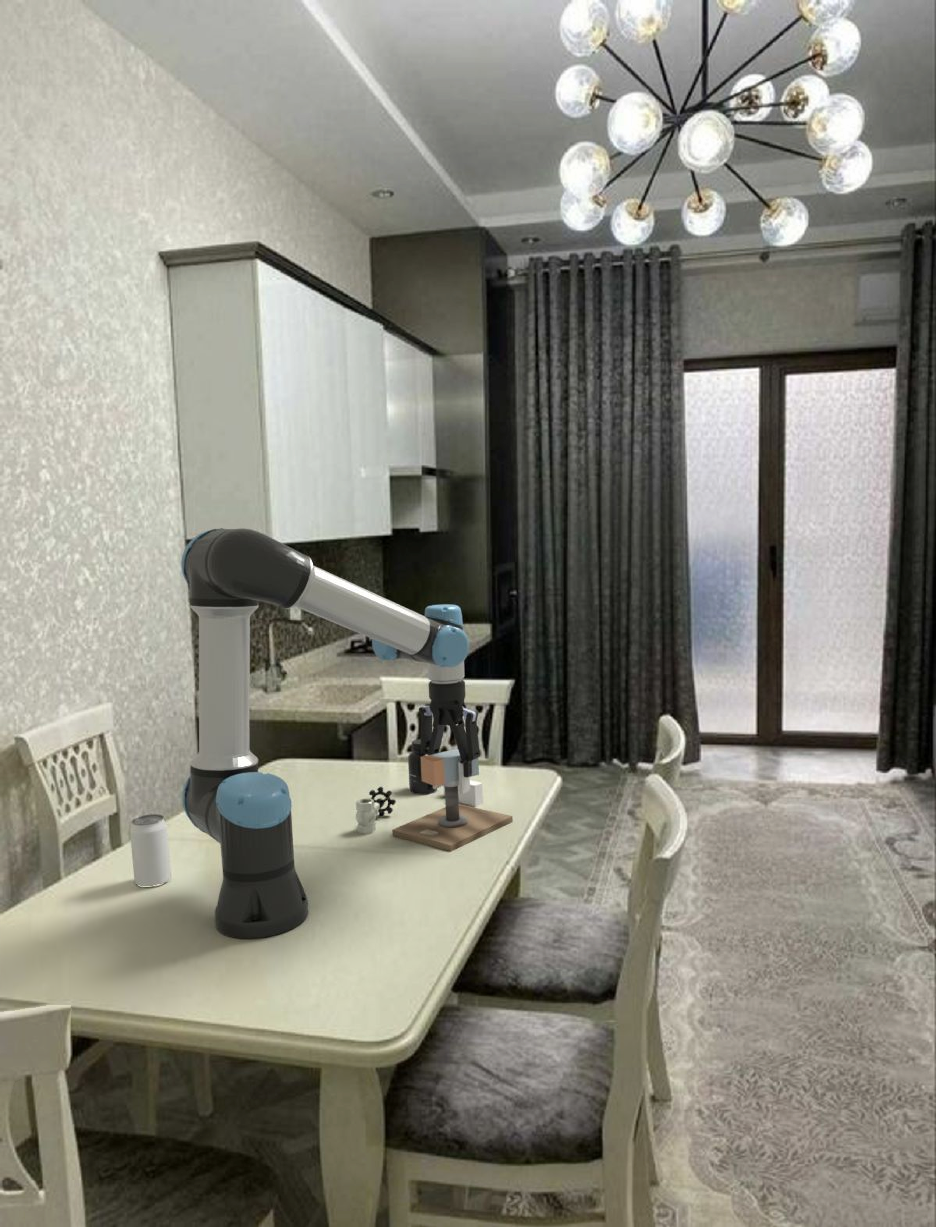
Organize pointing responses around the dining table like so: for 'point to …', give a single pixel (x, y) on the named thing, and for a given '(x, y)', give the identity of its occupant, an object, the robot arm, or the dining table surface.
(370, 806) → the valve
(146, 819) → the can
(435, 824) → the board
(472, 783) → the white stepped block
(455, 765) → the blue-orange block
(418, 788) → the supplement bottle
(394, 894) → the dining table surface
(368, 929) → the dining table surface
